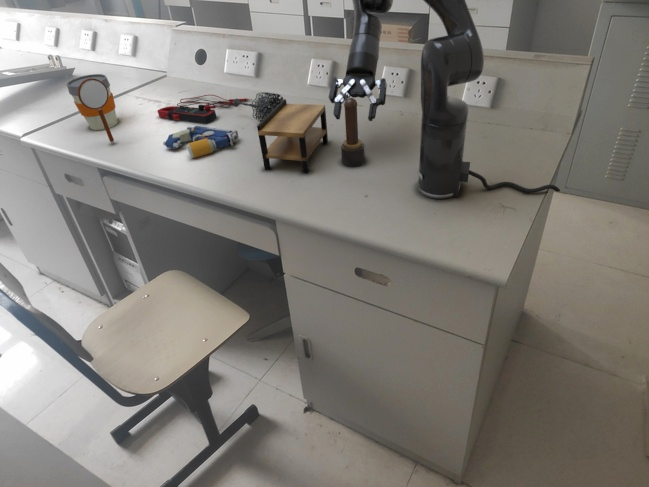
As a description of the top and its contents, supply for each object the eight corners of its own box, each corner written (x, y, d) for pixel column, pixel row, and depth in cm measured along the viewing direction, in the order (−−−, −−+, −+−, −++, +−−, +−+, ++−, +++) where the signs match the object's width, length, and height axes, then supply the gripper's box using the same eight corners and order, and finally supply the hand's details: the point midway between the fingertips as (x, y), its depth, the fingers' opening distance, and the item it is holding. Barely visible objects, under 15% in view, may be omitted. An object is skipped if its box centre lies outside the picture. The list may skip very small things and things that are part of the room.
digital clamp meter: (209, 113, 143) (150, 106, 152) (213, 127, 145) (154, 119, 155) (250, 88, 159) (194, 82, 169) (252, 100, 162) (197, 94, 171)
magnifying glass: (101, 150, 139) (74, 84, 126) (99, 148, 139) (71, 83, 127) (127, 139, 143) (103, 74, 131) (124, 138, 144) (100, 74, 132)
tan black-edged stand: (328, 142, 130) (324, 100, 122) (307, 173, 116) (302, 128, 109) (289, 140, 133) (283, 99, 126) (264, 169, 120) (256, 126, 112)
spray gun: (212, 163, 125) (244, 141, 135) (208, 149, 122) (241, 127, 133) (157, 153, 134) (191, 133, 144) (152, 140, 131) (187, 121, 142)
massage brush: (248, 111, 154) (243, 83, 148) (300, 121, 144) (297, 91, 138) (229, 121, 148) (223, 93, 142) (282, 132, 138) (278, 102, 132)
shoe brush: (367, 157, 121) (365, 94, 111) (361, 167, 117) (359, 103, 106) (345, 155, 123) (341, 93, 112) (339, 166, 118) (334, 102, 108)
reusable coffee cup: (80, 125, 156) (61, 81, 147) (116, 114, 162) (100, 71, 153) (90, 135, 148) (71, 90, 139) (128, 124, 154) (111, 79, 145)
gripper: (332, 50, 114) (322, 111, 113) (388, 50, 110) (379, 114, 109) (339, 65, 122) (330, 123, 120) (392, 65, 118) (383, 126, 116)
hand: (353, 119), depth 115 cm, fingers open, 8 cm apart
